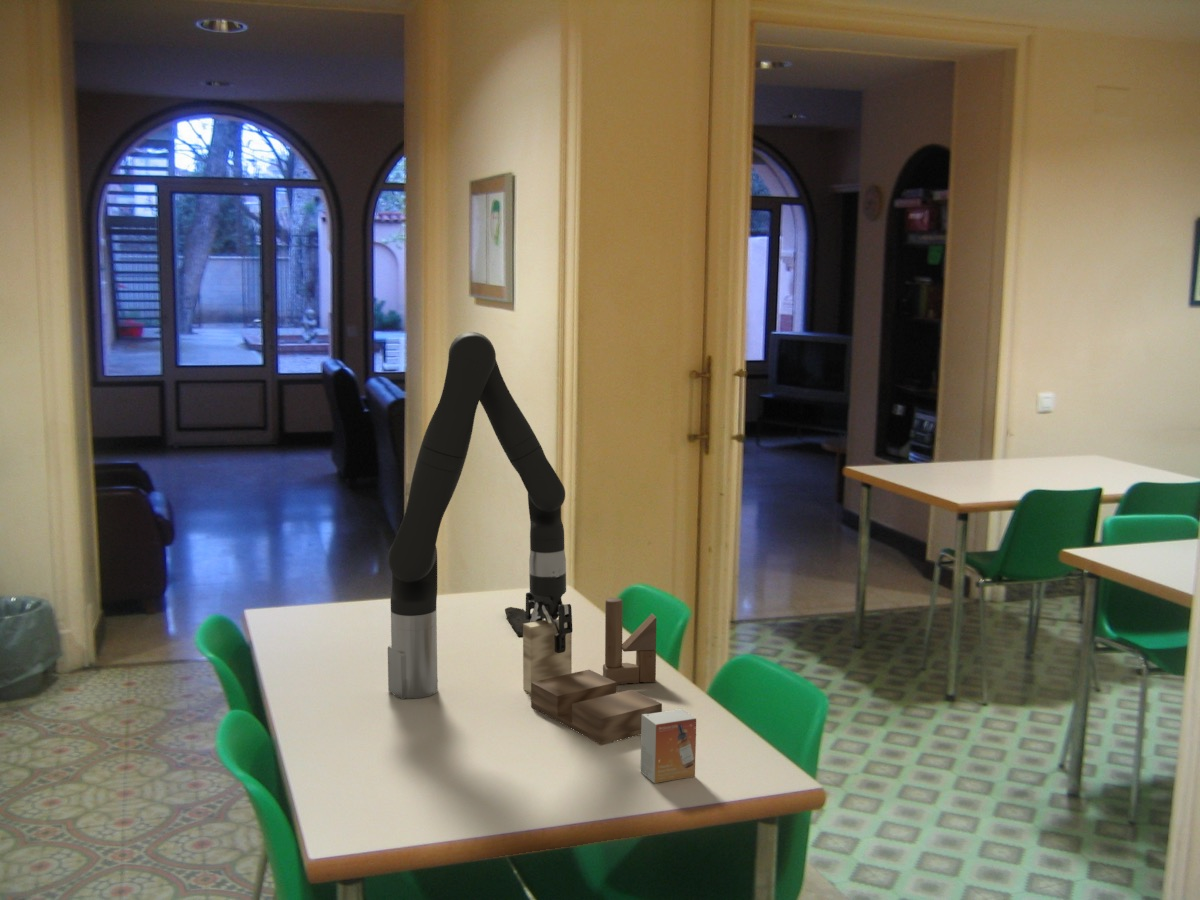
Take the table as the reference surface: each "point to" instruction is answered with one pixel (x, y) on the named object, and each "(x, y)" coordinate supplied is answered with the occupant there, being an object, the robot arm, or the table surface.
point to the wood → (516, 619)
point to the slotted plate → (592, 705)
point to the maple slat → (543, 653)
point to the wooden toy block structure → (628, 647)
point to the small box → (668, 745)
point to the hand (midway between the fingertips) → (548, 647)
